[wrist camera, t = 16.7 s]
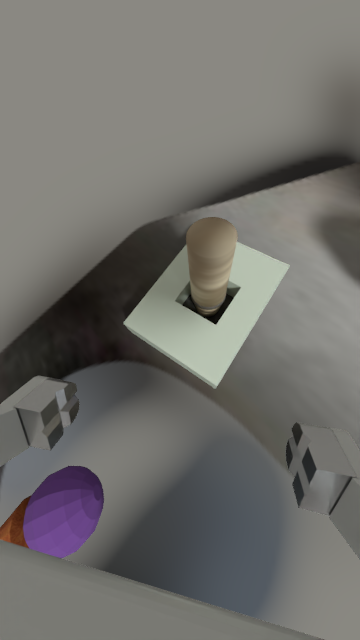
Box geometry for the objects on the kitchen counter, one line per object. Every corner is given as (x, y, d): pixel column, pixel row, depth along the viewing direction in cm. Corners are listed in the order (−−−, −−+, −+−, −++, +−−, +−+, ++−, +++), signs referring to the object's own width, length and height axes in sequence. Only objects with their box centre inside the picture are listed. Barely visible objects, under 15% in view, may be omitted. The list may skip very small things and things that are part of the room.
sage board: (281, 279, 28) (290, 265, 25) (215, 388, 24) (217, 386, 21) (201, 241, 31) (201, 225, 28) (131, 331, 27) (123, 323, 24)
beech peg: (229, 301, 27) (247, 228, 16) (212, 325, 26) (220, 266, 15) (202, 286, 29) (203, 209, 17) (186, 310, 28) (175, 244, 16)
